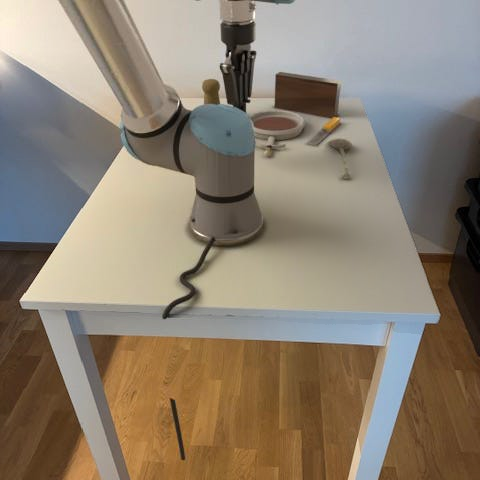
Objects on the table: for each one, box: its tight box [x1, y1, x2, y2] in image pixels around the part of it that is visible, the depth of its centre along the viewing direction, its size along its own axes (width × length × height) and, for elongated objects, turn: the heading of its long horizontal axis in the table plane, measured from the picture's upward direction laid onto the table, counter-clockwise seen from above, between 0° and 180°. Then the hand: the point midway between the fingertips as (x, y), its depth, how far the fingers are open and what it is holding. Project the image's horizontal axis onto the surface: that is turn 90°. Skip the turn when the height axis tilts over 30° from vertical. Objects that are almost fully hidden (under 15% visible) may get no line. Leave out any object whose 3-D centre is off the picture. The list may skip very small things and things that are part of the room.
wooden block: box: [274, 71, 342, 119], centre depth 148 cm, size 3×20×10 cm, turn 60°
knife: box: [308, 116, 341, 147], centre depth 137 cm, size 18×2×2 cm, turn 151°
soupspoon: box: [327, 137, 353, 180], centre depth 124 cm, size 22×3×7 cm
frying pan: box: [249, 109, 306, 158], centre depth 136 cm, size 17×3×28 cm
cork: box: [201, 78, 221, 105], centre depth 144 cm, size 6×6×11 cm
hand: (240, 131), depth 119 cm, fingers closed
